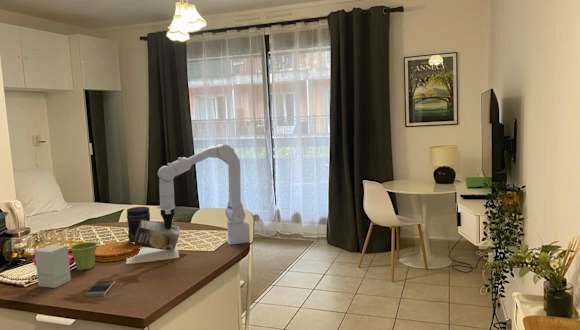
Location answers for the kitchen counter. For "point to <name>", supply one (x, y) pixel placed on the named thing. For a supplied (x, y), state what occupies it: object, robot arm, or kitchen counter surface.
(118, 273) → the kitchen counter surface
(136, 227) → the storage jar
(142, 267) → the kitchen counter surface
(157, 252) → the mat
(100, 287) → the cell phone
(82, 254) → the plant pot
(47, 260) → the supplement box
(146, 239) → the coffee box
